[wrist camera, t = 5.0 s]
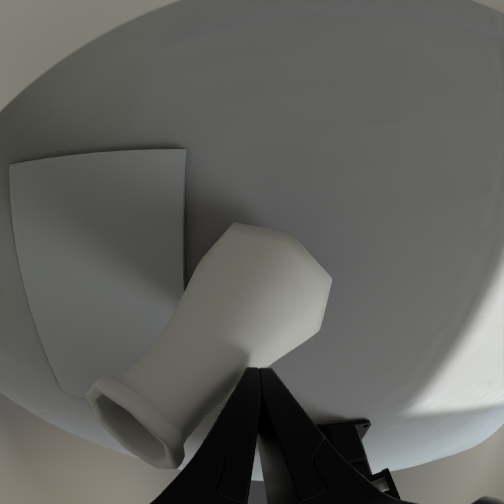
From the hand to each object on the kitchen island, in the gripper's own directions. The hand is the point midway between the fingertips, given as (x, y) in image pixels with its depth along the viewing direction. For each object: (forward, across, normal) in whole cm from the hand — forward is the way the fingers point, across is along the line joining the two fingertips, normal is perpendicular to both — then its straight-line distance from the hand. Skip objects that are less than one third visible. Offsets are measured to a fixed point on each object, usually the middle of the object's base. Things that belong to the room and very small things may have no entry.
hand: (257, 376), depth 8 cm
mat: (+8, +10, +3) cm, 13 cm away
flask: (+6, 0, 0) cm, 7 cm away
